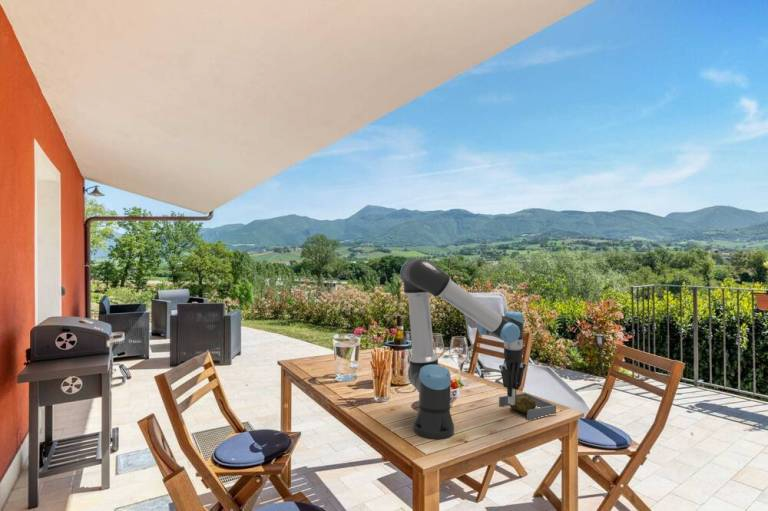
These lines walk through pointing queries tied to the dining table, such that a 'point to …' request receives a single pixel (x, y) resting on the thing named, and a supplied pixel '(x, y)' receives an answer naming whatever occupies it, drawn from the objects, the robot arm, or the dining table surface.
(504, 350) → the robot arm
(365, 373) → the dining table surface
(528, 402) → the potato
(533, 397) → the box
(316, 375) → the dining table surface
